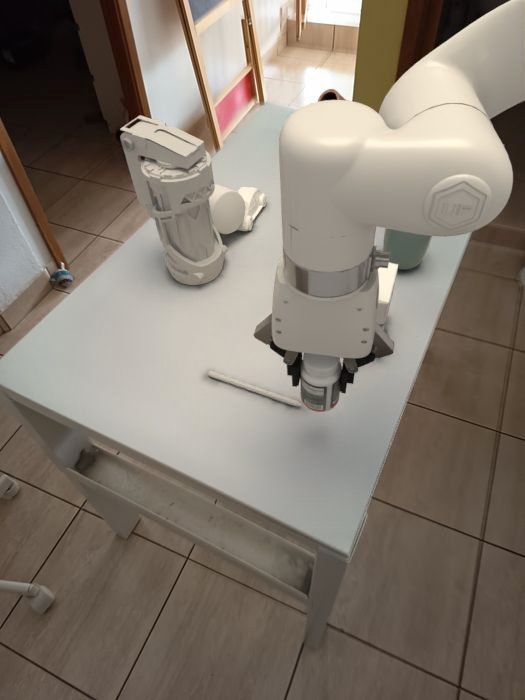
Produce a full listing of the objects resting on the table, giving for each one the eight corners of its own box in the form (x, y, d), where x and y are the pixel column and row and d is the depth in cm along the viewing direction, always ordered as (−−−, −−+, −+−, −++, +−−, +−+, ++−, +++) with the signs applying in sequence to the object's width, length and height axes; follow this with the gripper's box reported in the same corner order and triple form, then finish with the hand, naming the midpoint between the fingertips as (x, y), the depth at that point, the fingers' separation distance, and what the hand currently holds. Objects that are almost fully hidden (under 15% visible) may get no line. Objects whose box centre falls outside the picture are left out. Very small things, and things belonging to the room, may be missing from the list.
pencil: (301, 408, 66) (207, 375, 70) (302, 408, 67) (209, 376, 71) (303, 402, 66) (209, 370, 71) (304, 403, 67) (211, 370, 71)
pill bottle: (328, 375, 60) (331, 333, 53) (346, 405, 57) (351, 363, 50) (294, 388, 59) (293, 346, 52) (310, 419, 56) (311, 378, 50)
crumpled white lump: (240, 196, 100) (238, 176, 96) (268, 200, 98) (268, 180, 95) (220, 231, 93) (217, 210, 89) (250, 236, 91) (249, 215, 88)
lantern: (236, 258, 87) (221, 123, 68) (204, 294, 82) (178, 158, 62) (179, 238, 92) (149, 106, 72) (145, 271, 86) (104, 137, 67)
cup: (376, 271, 84) (385, 225, 76) (382, 244, 88) (391, 197, 81) (421, 279, 82) (435, 232, 74) (425, 251, 87) (439, 204, 79)
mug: (253, 204, 88) (218, 192, 95) (227, 181, 82) (191, 170, 88) (221, 262, 89) (189, 245, 95) (193, 243, 83) (160, 227, 89)
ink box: (377, 358, 72) (390, 304, 63) (345, 350, 73) (353, 296, 64) (386, 317, 77) (400, 262, 68) (357, 311, 78) (366, 255, 69)
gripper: (428, 239, 42) (396, 363, 56) (241, 225, 45) (256, 346, 59) (428, 300, 37) (393, 418, 51) (221, 280, 40) (242, 396, 54)
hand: (320, 378), depth 55 cm, fingers closed on pill bottle, 4 cm apart
